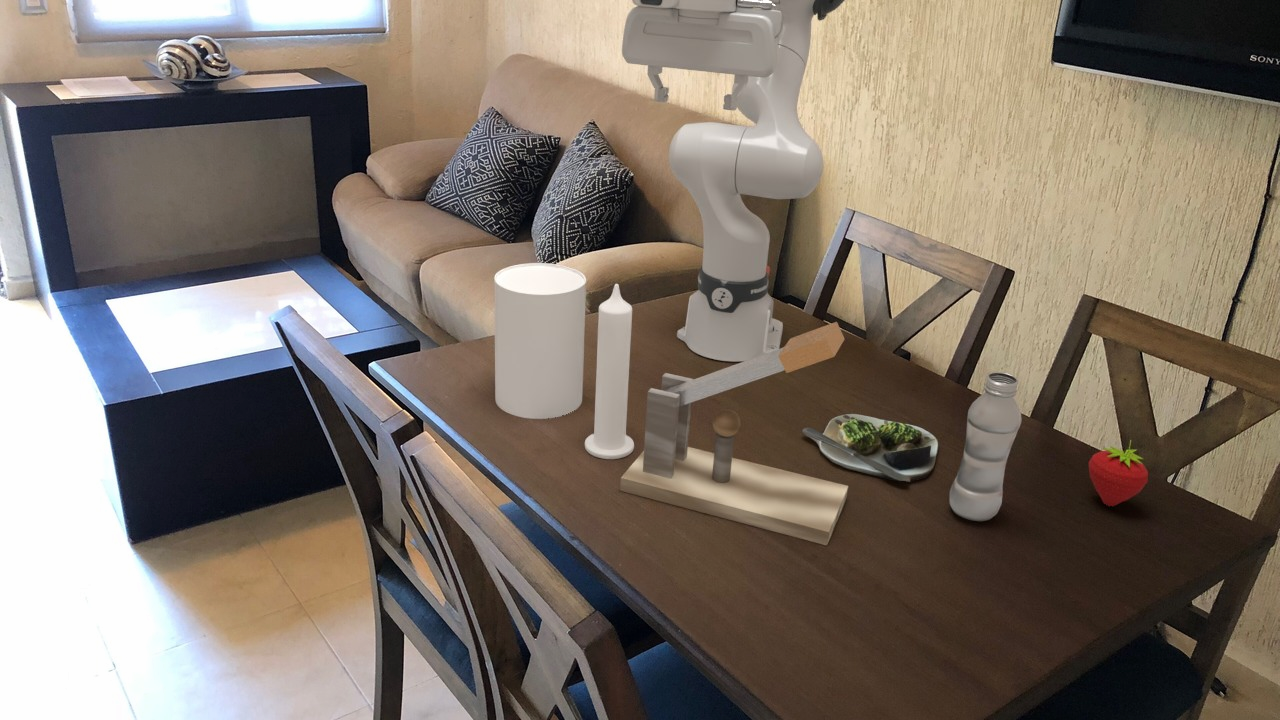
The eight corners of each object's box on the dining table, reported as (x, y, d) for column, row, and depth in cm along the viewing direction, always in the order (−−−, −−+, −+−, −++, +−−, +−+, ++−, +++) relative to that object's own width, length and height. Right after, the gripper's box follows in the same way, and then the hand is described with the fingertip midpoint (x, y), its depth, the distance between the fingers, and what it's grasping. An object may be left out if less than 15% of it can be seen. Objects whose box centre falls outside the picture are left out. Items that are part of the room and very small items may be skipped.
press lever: (668, 400, 136) (660, 385, 136) (844, 338, 123) (836, 321, 123) (652, 419, 131) (644, 403, 131) (834, 356, 118) (826, 338, 118)
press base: (653, 450, 144) (659, 362, 138) (846, 498, 135) (861, 406, 129) (620, 490, 134) (625, 397, 128) (826, 545, 125) (842, 447, 119)
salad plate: (787, 464, 143) (791, 436, 141) (816, 413, 158) (820, 386, 156) (925, 498, 137) (931, 469, 135) (941, 441, 152) (947, 414, 150)
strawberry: (1089, 486, 141) (1106, 423, 137) (1144, 508, 137) (1164, 444, 133) (1072, 501, 137) (1089, 437, 133) (1128, 524, 133) (1148, 459, 129)
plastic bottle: (936, 504, 135) (963, 370, 126) (977, 497, 137) (1007, 364, 129) (966, 531, 129) (997, 392, 121) (1008, 523, 132) (1042, 386, 123)
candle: (628, 462, 140) (637, 296, 130) (579, 455, 142) (584, 289, 131) (638, 439, 147) (647, 278, 136) (591, 432, 148) (597, 272, 138)
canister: (479, 407, 153) (477, 284, 145) (519, 373, 165) (520, 257, 157) (560, 426, 149) (563, 300, 141) (595, 389, 161) (600, 272, 153)
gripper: (789, -1, 127) (777, 110, 132) (636, -14, 132) (630, 93, 138) (779, 2, 121) (767, 118, 127) (620, -11, 127) (615, 100, 132)
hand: (695, 105), depth 132 cm, fingers open, 8 cm apart
